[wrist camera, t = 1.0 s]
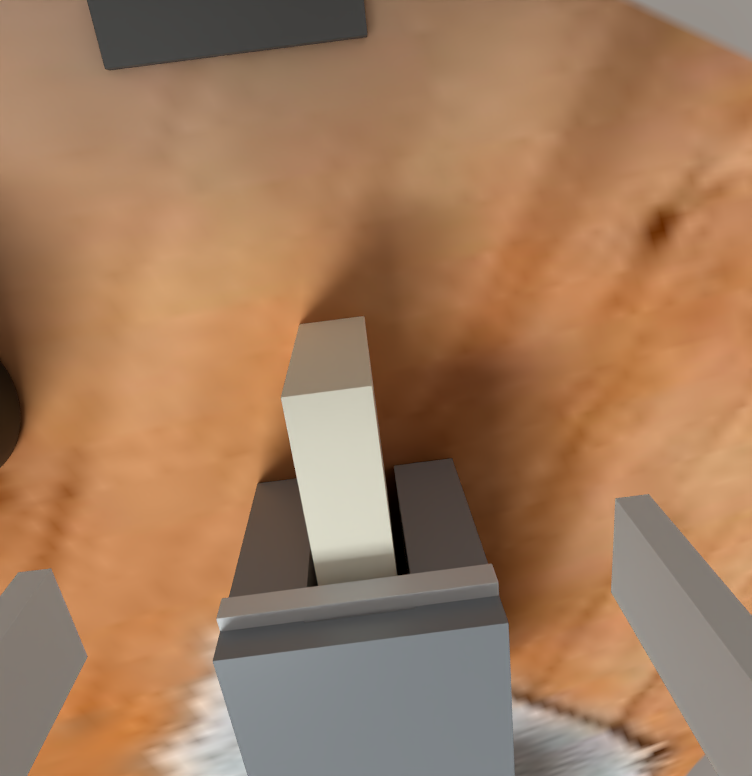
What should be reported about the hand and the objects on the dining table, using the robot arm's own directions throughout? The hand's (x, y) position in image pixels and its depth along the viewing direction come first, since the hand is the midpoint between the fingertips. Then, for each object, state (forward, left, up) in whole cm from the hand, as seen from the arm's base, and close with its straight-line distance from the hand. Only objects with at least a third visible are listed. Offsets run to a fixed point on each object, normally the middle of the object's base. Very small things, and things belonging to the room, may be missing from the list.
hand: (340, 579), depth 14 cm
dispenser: (0, -14, -15) cm, 21 cm away
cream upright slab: (0, -4, -15) cm, 16 cm away
